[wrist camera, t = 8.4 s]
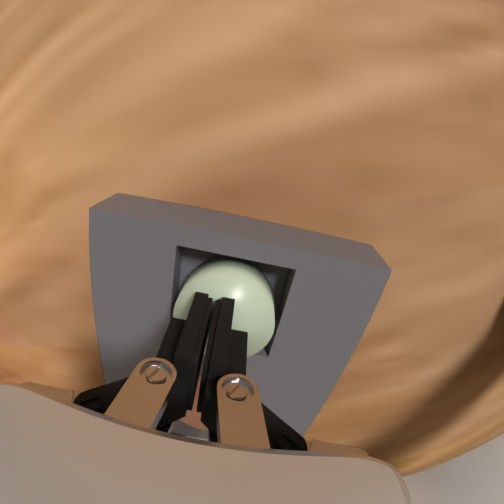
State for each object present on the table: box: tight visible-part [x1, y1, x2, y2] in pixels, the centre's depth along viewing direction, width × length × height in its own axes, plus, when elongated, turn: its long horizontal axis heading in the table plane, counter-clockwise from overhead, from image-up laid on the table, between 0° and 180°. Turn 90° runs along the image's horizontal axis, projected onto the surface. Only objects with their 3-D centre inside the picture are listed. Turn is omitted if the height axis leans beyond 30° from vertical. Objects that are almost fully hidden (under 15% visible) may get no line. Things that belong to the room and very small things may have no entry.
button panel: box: [89, 193, 391, 440], centre depth 18 cm, size 14×22×3 cm, turn 168°
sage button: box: [173, 257, 275, 357], centre depth 13 cm, size 4×4×2 cm
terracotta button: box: [179, 374, 208, 431], centre depth 17 cm, size 4×4×2 cm
